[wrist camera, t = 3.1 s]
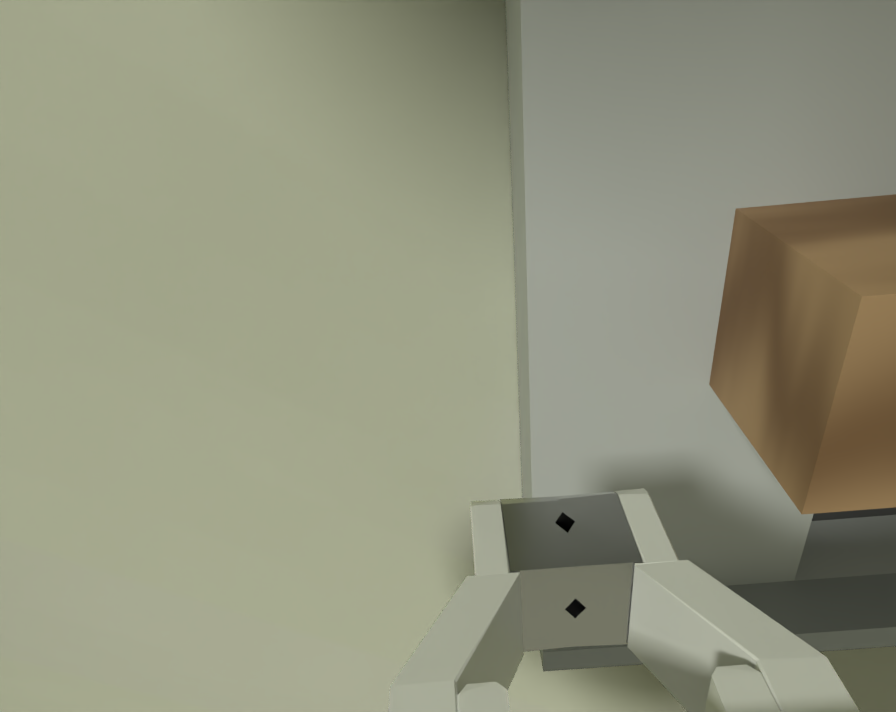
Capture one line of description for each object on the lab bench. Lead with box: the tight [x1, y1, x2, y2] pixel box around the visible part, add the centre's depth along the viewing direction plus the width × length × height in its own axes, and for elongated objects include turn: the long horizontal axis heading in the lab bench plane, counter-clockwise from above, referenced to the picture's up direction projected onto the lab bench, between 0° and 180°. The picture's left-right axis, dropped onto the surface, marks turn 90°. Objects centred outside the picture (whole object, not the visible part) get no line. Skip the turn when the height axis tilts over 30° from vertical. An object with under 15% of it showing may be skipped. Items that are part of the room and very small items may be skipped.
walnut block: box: [709, 194, 896, 514], centre depth 14 cm, size 5×5×5 cm
